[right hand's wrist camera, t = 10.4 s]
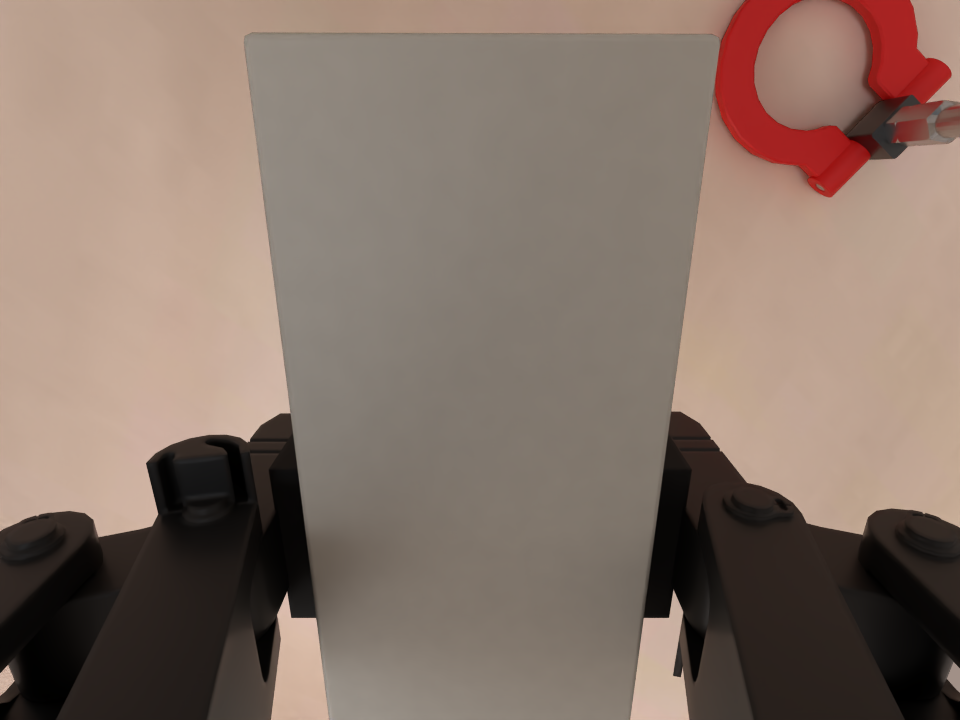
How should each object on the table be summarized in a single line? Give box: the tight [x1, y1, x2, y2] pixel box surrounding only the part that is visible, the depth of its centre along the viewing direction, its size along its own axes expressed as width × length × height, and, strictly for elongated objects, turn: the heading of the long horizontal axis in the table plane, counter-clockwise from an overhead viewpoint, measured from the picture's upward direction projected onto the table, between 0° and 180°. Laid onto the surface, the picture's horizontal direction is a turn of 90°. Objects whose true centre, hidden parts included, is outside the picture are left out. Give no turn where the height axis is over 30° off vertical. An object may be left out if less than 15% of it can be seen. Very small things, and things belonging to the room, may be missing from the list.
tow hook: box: [715, 0, 960, 197], centre depth 20 cm, size 8×13×9 cm
